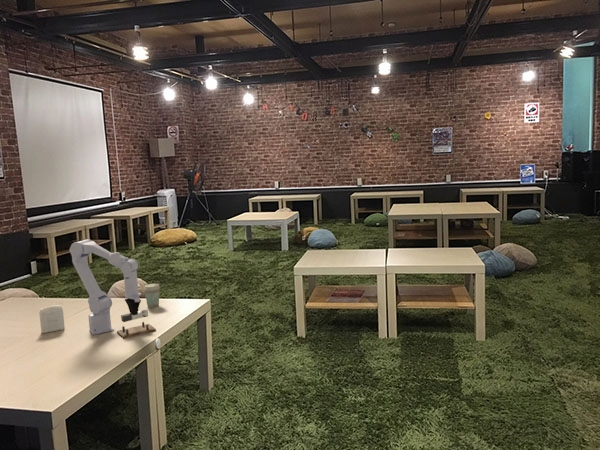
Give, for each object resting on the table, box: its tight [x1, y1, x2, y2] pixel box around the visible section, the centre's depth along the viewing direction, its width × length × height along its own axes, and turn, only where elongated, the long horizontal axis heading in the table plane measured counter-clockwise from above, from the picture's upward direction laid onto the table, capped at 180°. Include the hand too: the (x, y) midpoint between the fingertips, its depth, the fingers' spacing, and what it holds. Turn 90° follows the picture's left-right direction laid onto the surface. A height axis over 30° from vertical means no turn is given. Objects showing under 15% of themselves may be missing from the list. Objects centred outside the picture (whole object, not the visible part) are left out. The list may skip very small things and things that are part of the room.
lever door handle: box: [120, 309, 149, 323], centre depth 237 cm, size 12×3×3 cm, turn 126°
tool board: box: [116, 321, 157, 339], centre depth 237 cm, size 15×10×3 cm, turn 125°
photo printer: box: [38, 304, 66, 334], centre depth 244 cm, size 10×4×12 cm, turn 123°
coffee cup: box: [143, 283, 161, 309], centre depth 277 cm, size 8×8×12 cm
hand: (134, 314), depth 237 cm, fingers closed on lever door handle, 3 cm apart
